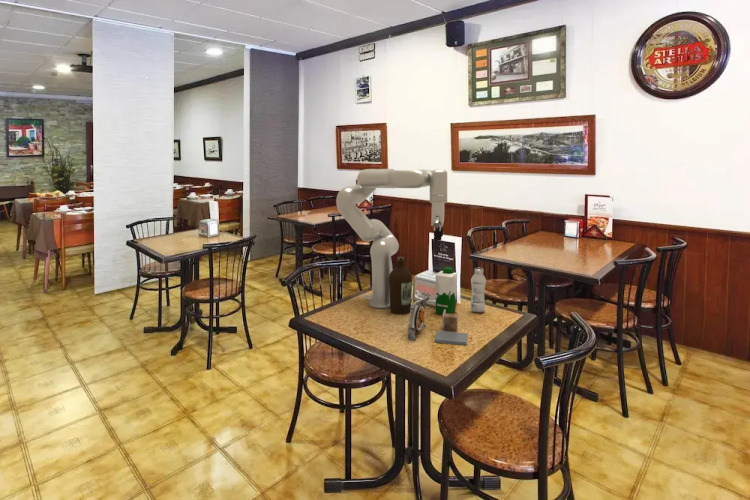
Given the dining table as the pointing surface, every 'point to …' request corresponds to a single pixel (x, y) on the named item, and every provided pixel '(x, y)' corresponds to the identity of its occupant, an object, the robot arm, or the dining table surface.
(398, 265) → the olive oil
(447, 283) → the milk carton
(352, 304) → the dining table surface
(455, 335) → the slate board
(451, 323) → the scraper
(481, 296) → the plastic bottle
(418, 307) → the meal
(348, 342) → the dining table surface
